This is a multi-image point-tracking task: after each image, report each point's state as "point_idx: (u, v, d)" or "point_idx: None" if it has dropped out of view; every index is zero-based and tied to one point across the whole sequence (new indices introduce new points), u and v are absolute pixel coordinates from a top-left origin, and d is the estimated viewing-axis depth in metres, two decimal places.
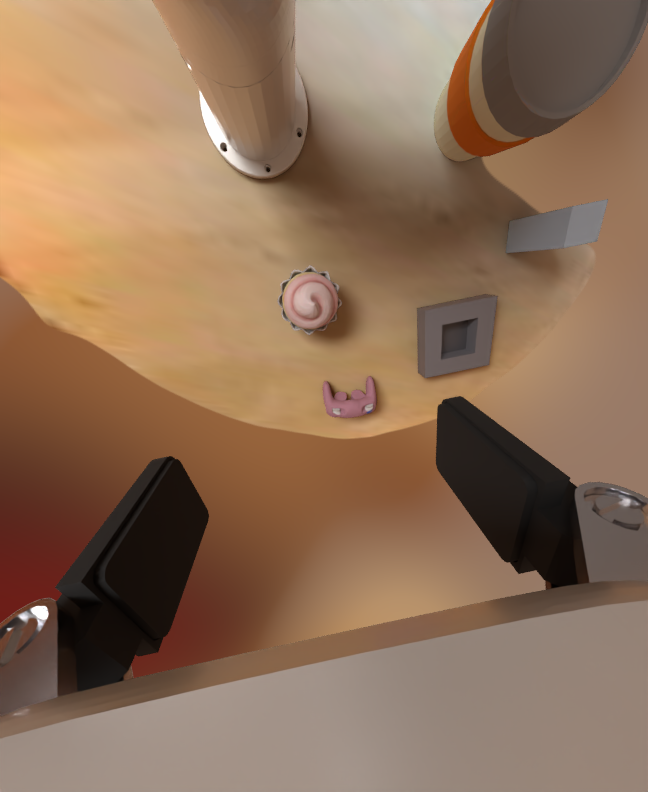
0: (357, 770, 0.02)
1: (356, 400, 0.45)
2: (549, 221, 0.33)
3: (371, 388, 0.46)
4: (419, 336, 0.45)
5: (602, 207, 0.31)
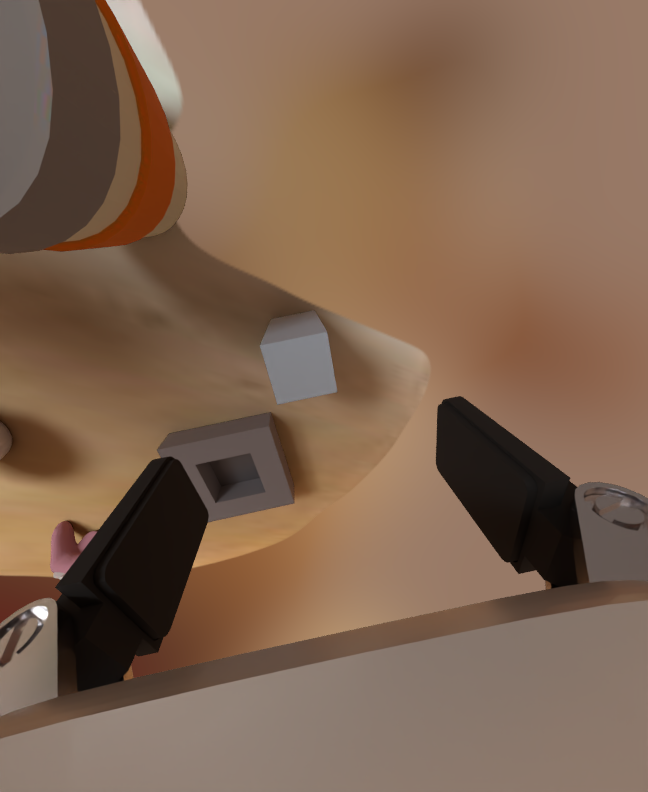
0: (357, 770, 0.02)
1: None
2: None
3: None
4: None
5: (321, 345, 0.17)
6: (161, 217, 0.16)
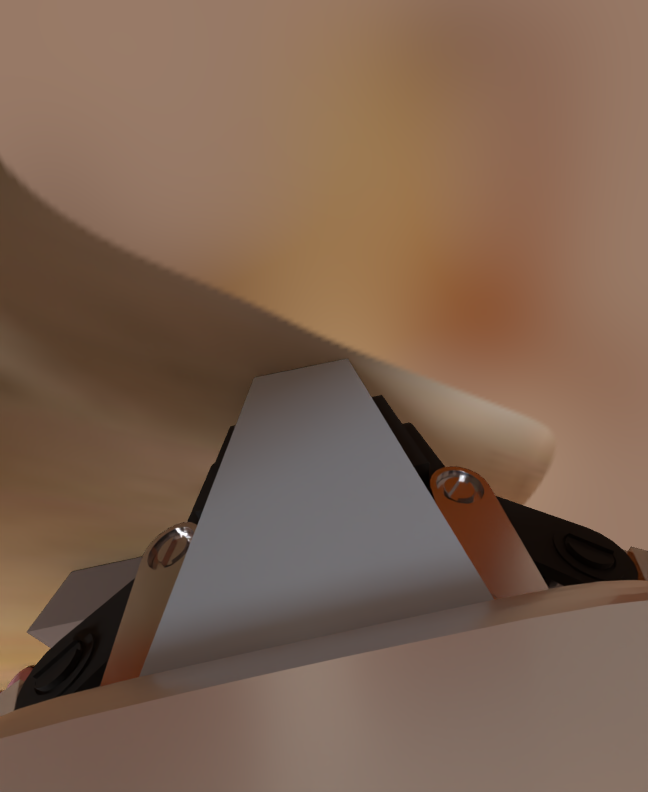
0: (357, 771, 0.02)
1: None
2: None
3: None
4: None
5: None
6: None
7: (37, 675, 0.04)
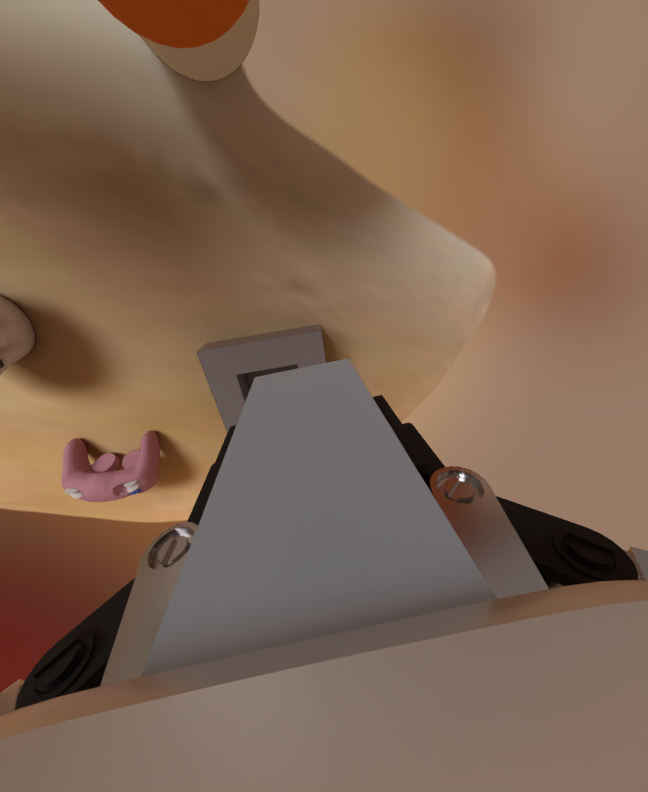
0: (357, 770, 0.02)
1: (107, 475, 0.28)
2: None
3: (141, 454, 0.28)
4: None
5: None
6: (243, 7, 0.14)
7: (37, 675, 0.04)
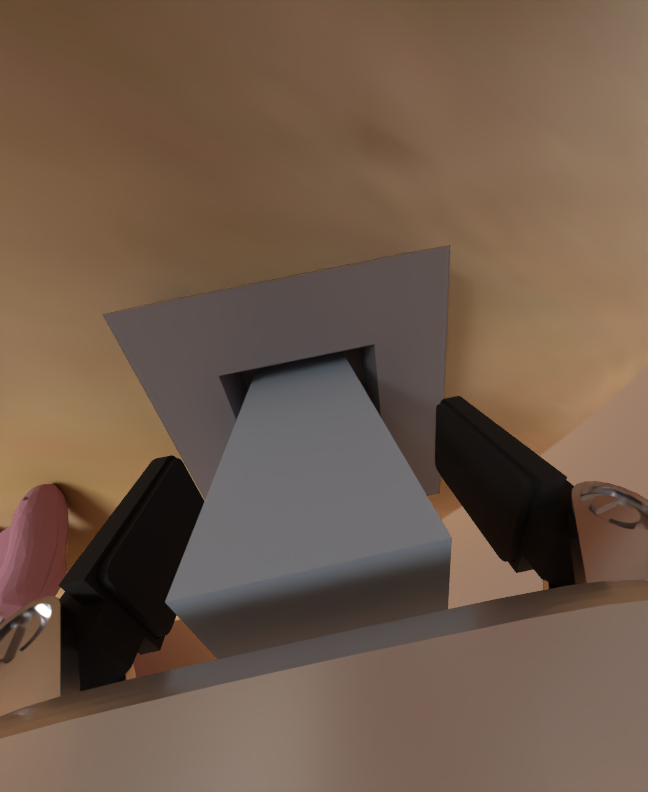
0: (357, 770, 0.02)
1: None
2: None
3: (10, 544, 0.13)
4: None
5: (420, 574, 0.04)
6: None
7: None
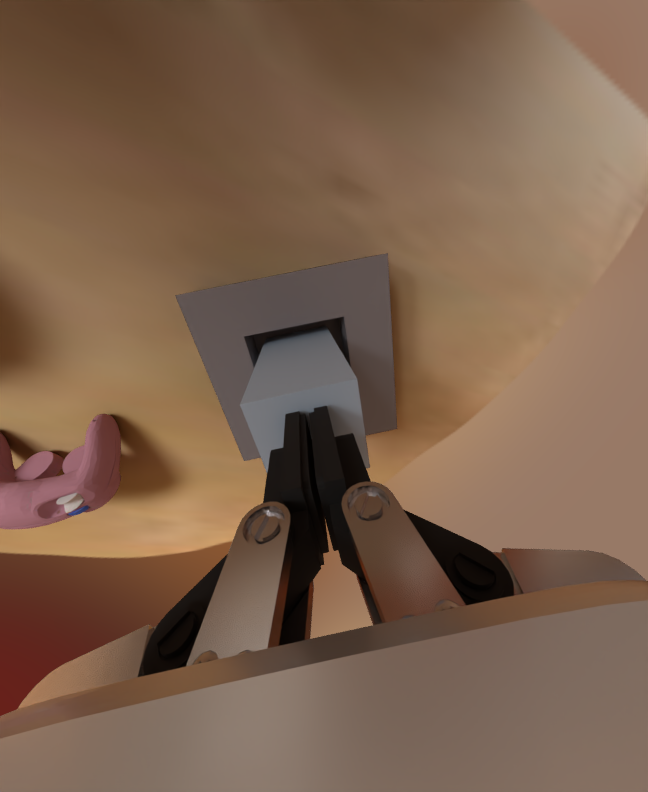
0: (357, 770, 0.02)
1: (30, 485, 0.17)
2: None
3: (86, 450, 0.18)
4: None
5: (347, 400, 0.10)
6: None
7: (159, 643, 0.04)
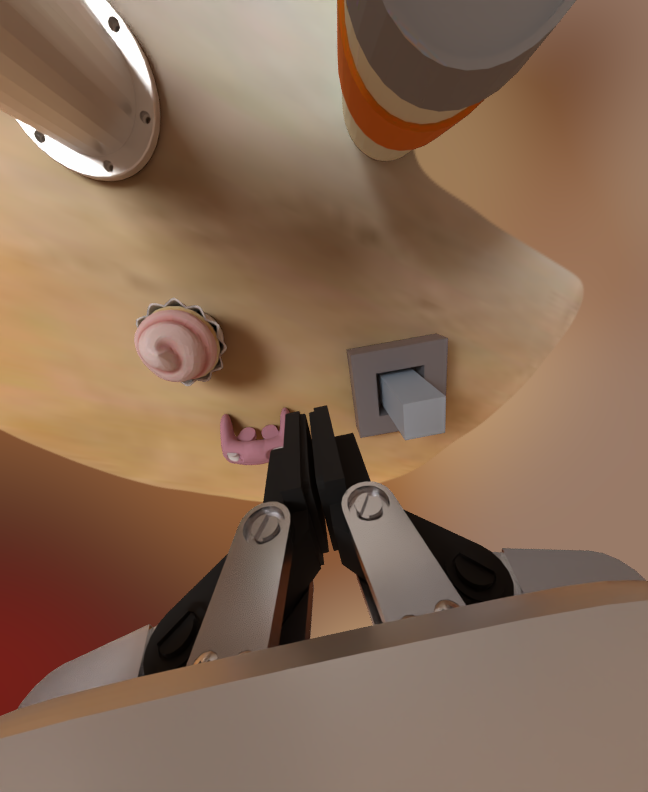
0: (357, 770, 0.02)
1: (260, 442, 0.33)
2: (394, 402, 0.29)
3: (283, 425, 0.34)
4: (351, 384, 0.35)
5: (440, 404, 0.26)
6: None
7: (159, 643, 0.04)
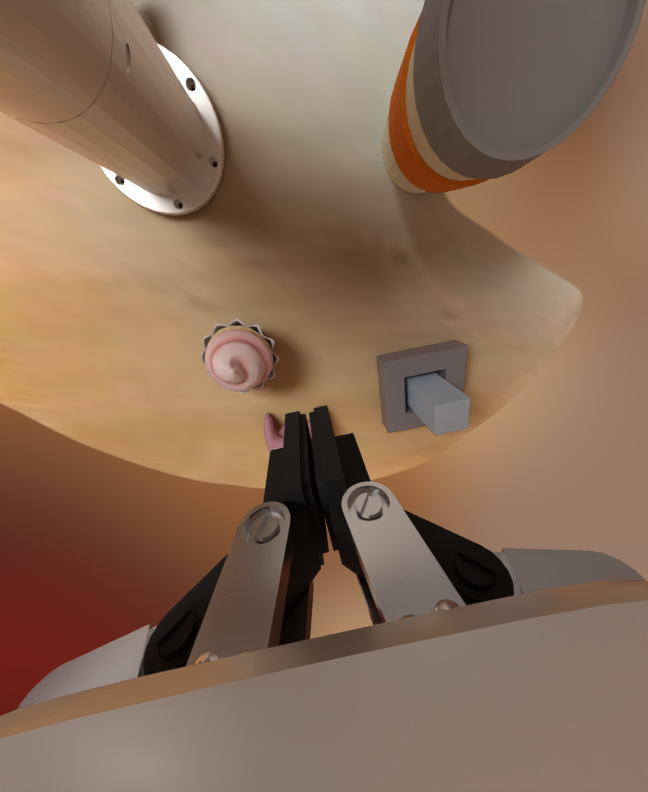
0: (357, 770, 0.02)
1: None
2: (424, 402, 0.33)
3: None
4: (380, 386, 0.39)
5: (466, 404, 0.31)
6: None
7: (159, 643, 0.04)
